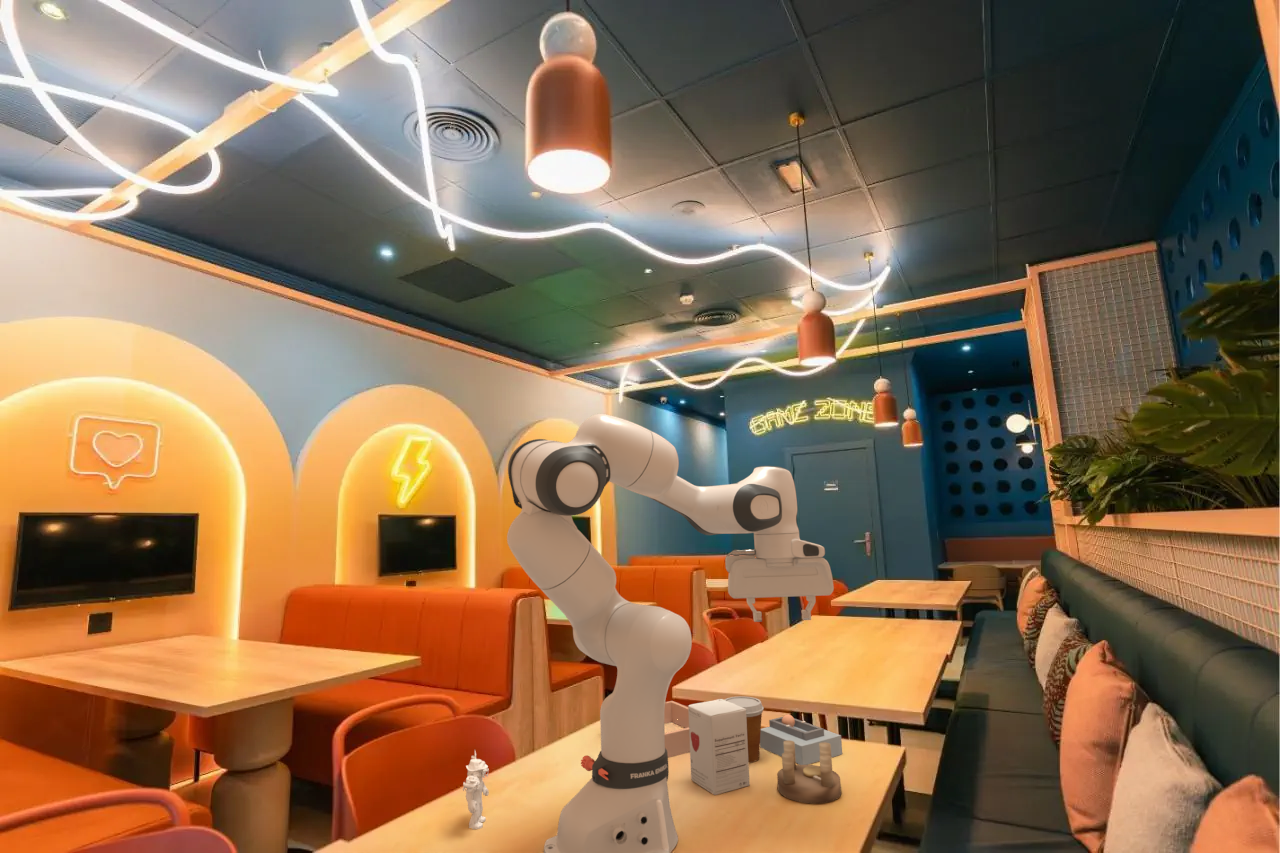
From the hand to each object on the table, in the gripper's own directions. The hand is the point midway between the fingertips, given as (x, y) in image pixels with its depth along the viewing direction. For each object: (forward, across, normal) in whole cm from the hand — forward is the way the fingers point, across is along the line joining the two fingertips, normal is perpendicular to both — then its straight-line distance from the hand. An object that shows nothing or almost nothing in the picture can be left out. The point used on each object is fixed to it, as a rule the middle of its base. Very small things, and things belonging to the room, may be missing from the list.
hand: (782, 620), depth 125 cm
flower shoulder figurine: (+33, -58, -6) cm, 67 cm away
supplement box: (+34, -13, +10) cm, 37 cm away
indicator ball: (+28, +5, +31) cm, 42 cm away
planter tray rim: (+33, -25, +37) cm, 56 cm away
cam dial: (+33, +4, +6) cm, 34 cm away
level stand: (+33, +7, +28) cm, 44 cm away
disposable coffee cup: (+34, -6, +24) cm, 42 cm away
